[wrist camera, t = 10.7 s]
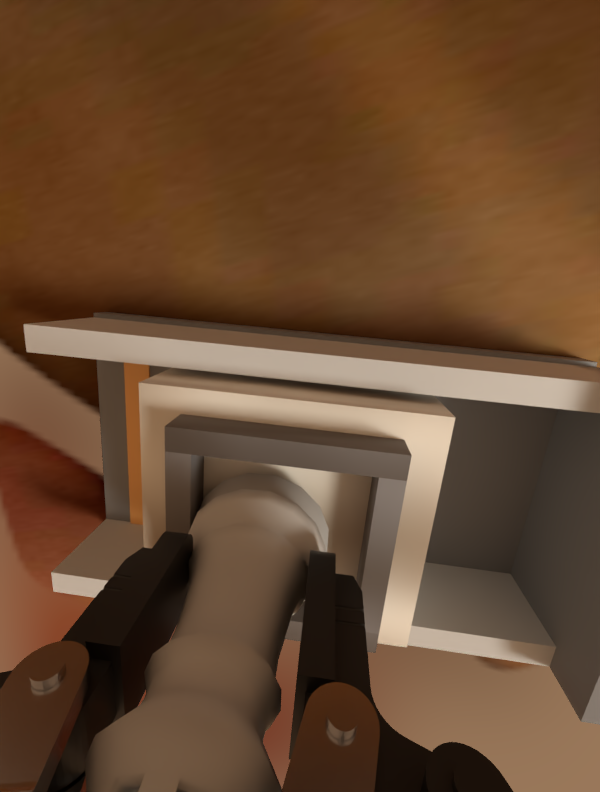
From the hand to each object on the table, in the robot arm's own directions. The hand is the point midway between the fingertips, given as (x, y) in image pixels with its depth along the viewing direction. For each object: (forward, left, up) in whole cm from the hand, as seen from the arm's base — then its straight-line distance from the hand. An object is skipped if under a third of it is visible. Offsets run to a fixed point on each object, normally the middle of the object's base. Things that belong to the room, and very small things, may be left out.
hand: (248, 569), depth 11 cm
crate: (0, +1, -7) cm, 7 cm away
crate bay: (0, +2, -9) cm, 9 cm away
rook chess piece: (0, 0, -2) cm, 2 cm away
